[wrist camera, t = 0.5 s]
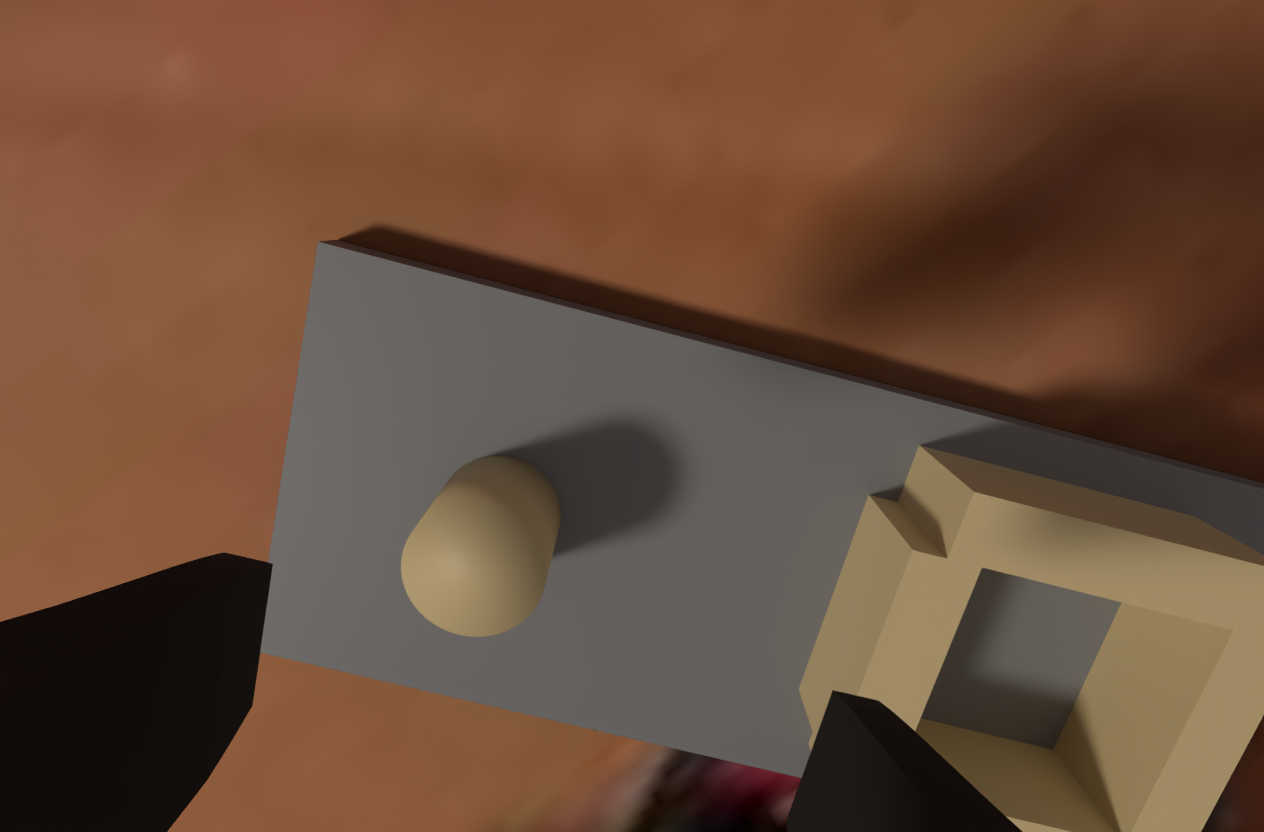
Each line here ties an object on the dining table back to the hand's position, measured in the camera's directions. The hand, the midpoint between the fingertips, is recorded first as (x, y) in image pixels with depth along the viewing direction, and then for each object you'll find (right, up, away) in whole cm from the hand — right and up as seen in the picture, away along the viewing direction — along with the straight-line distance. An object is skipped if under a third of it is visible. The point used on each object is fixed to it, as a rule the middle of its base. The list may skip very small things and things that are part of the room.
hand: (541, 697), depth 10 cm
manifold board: (+5, 0, +10) cm, 11 cm away
